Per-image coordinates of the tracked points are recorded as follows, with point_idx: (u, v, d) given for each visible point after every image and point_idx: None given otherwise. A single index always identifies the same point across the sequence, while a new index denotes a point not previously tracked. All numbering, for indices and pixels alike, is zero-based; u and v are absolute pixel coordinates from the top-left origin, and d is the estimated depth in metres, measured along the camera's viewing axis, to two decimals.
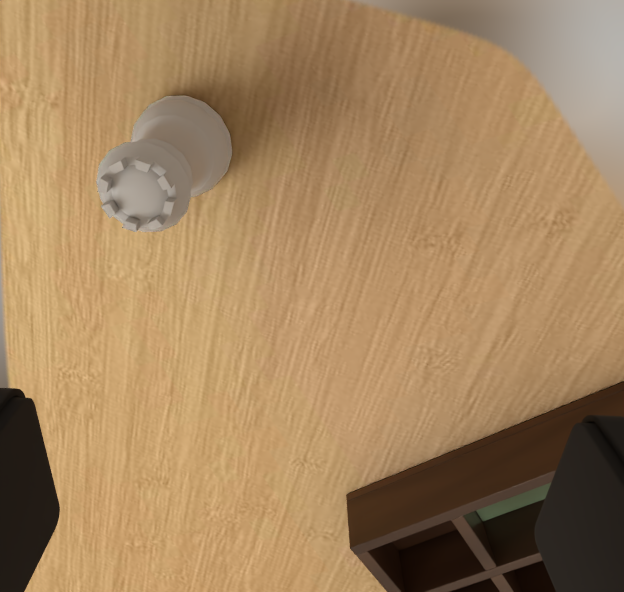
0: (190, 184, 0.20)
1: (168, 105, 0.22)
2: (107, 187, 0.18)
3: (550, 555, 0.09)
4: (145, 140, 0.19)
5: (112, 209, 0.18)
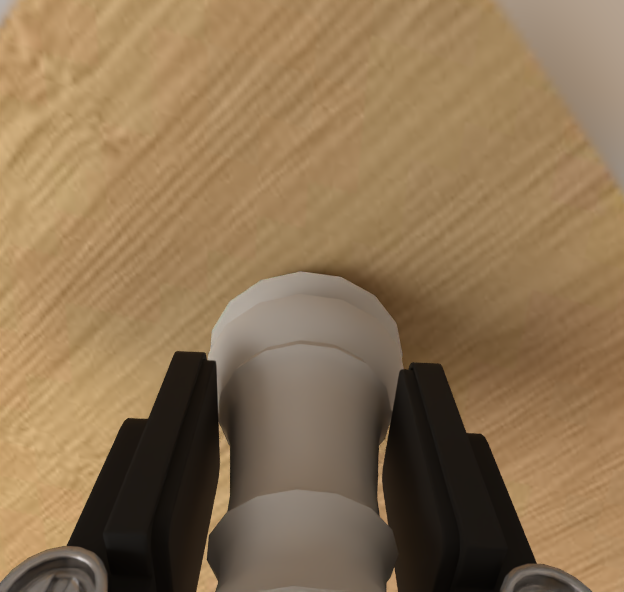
0: None
1: (355, 323, 0.10)
2: None
3: (387, 492, 0.10)
4: (347, 502, 0.07)
5: None
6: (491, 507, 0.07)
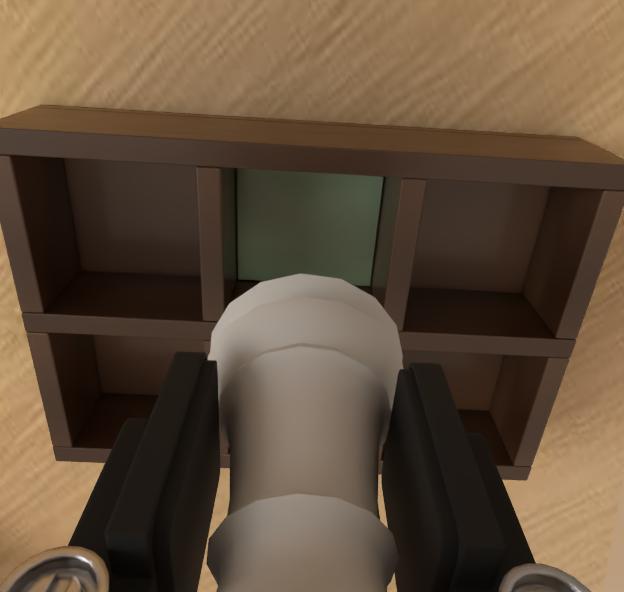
0: None
1: (355, 325, 0.10)
2: None
3: (386, 492, 0.10)
4: (347, 506, 0.07)
5: None
6: (490, 507, 0.07)
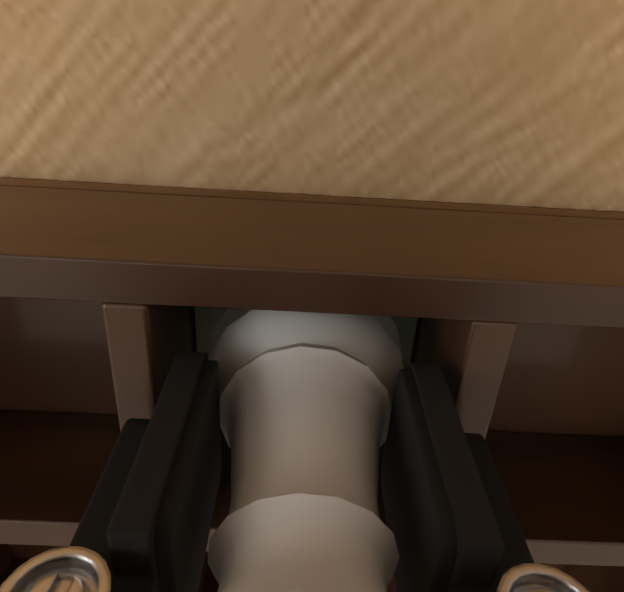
0: None
1: (355, 325, 0.10)
2: None
3: (385, 492, 0.10)
4: (348, 505, 0.07)
5: None
6: (489, 507, 0.07)
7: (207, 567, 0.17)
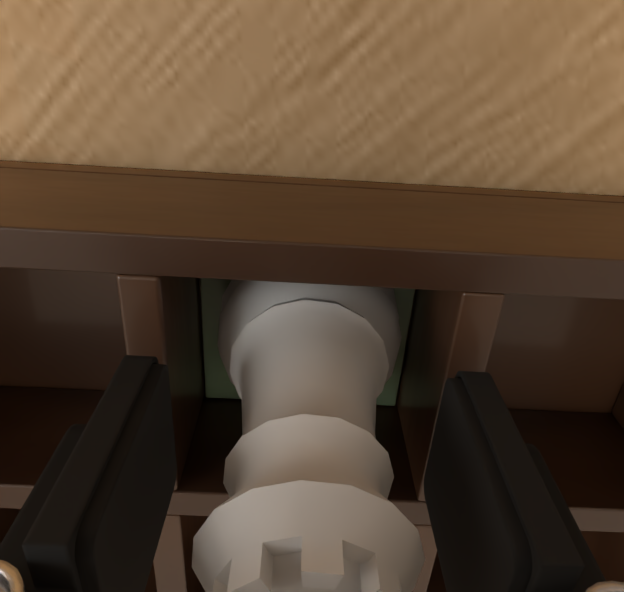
0: None
1: None
2: None
3: (431, 502, 0.10)
4: (347, 425, 0.08)
5: None
6: (561, 522, 0.07)
7: None
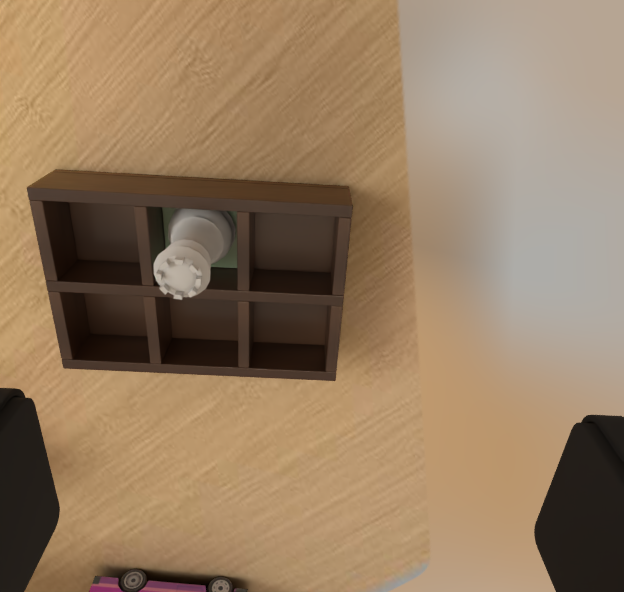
0: None
1: (211, 212, 0.34)
2: (166, 267, 0.29)
3: (550, 555, 0.09)
4: (195, 242, 0.31)
5: (161, 277, 0.29)
6: None
7: (172, 337, 0.41)
